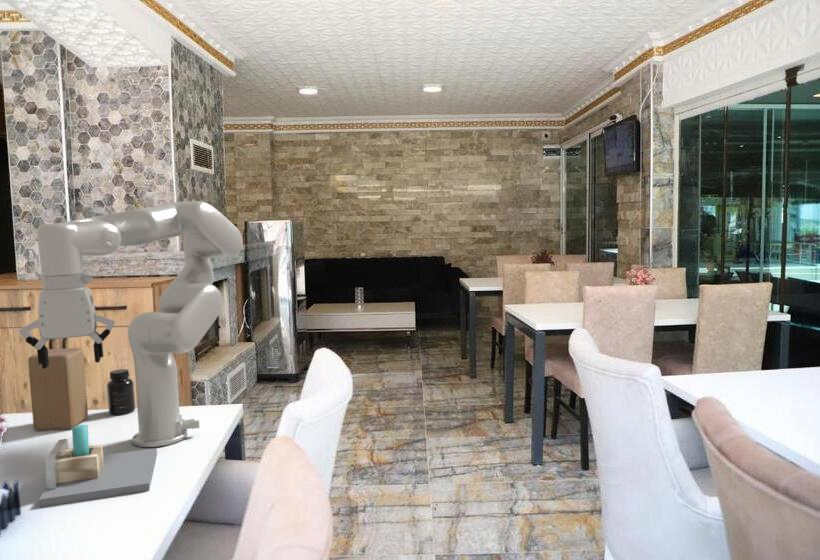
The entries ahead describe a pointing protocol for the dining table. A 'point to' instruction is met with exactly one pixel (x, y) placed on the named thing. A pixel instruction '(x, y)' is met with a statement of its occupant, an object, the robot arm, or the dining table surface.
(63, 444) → the backstop wall
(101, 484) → the base board
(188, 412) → the dining table surface
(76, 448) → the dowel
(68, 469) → the birch block
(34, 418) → the wooden block
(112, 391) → the supplement bottle
